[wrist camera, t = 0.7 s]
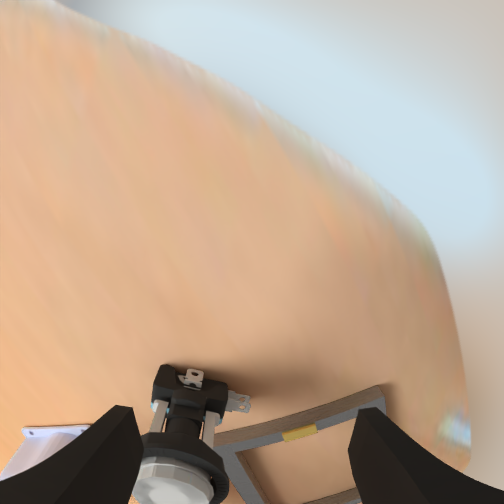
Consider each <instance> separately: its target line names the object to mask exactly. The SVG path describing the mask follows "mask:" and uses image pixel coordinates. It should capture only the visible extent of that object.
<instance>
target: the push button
mask: <svg viewBox="0 0 504 504" xmlns="http://www.w3.org/2000/svg"><path fill="white" fill-rule="evenodd" d="M191 373H197V374H198V376H193V375H192V374H191ZM203 374H204V373H203V372H202V371H199V370H195V369H191V368H190V369H188V370H187V373H186V374H183V373H179V372H175V368H174V367H172V366H169V365H164V364H163V365H161V366H160V368H159V370H158V373H157V375H156V378H155V380H154V383H153V391H152V400H151V408H152V409H153V412H154V413H155V415H154V418H153V421H152V424H151V427H150V430H149V433H146V434H144V435H142V436H141V440H142V443H143V446H144V452H143V457H142V462H141V466H140V471H139V474H138V477H137V480H136V483H135V486H134V488H133V491H132V494H133V496H134V497H135V499H136V500H137V501H138V502H139V503H140V504H219V503H221V502H222V501H223V500H224V499H225V498H226V497H227V495H228V492H229V478H228V475H227V473H226V472H225V467H224V463H223V459H222V457H221V456H219V455H218V454H217V453H216V452H215V451H214V450H213V440H214V428H215V427H216V426H218V425H219V424H221V422H222V419H223V416H224V412H225V411H229V412H232V410H233V411H239V412H245V413H248V412H249V410H250V407H251V404H249V400H250V396H247V395H242V394H236V393H235V391H230V390H228V386H227V384H226V383H223V382H219V381H214V380H209V379H205V378H203ZM241 397H243V398H245V400H244V401H240V400H239V399H240V398H241ZM241 405H244V406H245V409H240V408H239V407H240V406H241ZM165 418H167V420H166V427H165V432H162V429H163V425H164V422H165ZM202 422H204V424H203V432H202V440H201V439H199V436H200V432H201V427H202ZM211 477H212V478H211Z"/></svg>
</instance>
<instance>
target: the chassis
mask: <svg viewBox="0 0 504 504" xmlns="http://www.w3.org/2000/svg"><path fill="white" fill-rule="evenodd" d="M371 407H377V408H378V409H379V410H380V411H382V412H383V413H384V414H385V415H386V405H385V396H384V394H383V393H382V391H381V390H380V389H379V387H378V386H377V385H376V386H374V387H371V388H369V389H366V390H364V391H361V392H359V393H356V394H353V395H351V396H348V397H345V398H342V399H340V400H337V401H334V402H331V403H328V404H325V405H322V406H319V407H316V408H313V409H310V410H307V411H304V412H300V413H297V414H294V415H290V416H287V417H283V418H280V419H276V420H273V421H269V422H265V423H261V424H257V425H253V426H249V427H245V428H240V429H236V430H231V431H227V432H222V433H217V434H214V440H213V450H214V451H215V452H216V453H217V454H218V455H219V456H221V457H222V459H223V463H224V467H225V472H226V473H227V475H228V477H229V479H230V480H231V482H232V483H233V485H234V486H235V488H236V489H237V491H238V492H239V494H240V495H241V497H242V498H243V500H244V501H245V503H246V504H270V502H269V500H268V499H267V497H266V495H265V494H264V492H263V490H262V489H261V487H260V485H259V483H258V482H257V480H256V478H255V476H254V475H253V473H252V471H251V469H250V467H249V466H248V464H247V462H246V460H245V458H244V456H243V455H242V453H241V451H243V450H248V449H252V448H256V447H261V446H265V445H269V444H273V443H277V442H281V441H285V442H288V441H291V440H295V439H298V438H302V437H305V436H308V435H312V434H315V433H318V432H317V431H318V430H321V429H324V428H327V427H330V426H333V425H336V424H339V423H342V422H345V421H347V420H350V419H353V418H355V417H357V414H358V410H359V409H363V408H371ZM386 416H387V415H386ZM360 502H362V501H361V498H360V495H359V492H358V489H357V487H356V488H353V489H351V490H348V491H345V492H342V493H339V494H335V495H332V496H329V497H326V498H322V499H319V500H315V501H312V502H308V503H304V504H357V503H360Z"/></svg>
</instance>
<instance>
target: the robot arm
mask: <svg viewBox="0 0 504 504" xmlns="http://www.w3.org/2000/svg"><path fill="white" fill-rule="evenodd" d="M22 433H23V434H24V436H25V437H26V438H25V440H24V441H23V442H22V444H21V445H20V447H19V448H18V449H17V451H16V452H15V453H14V455H13V456H12V458H11V459H10V460H9V462H8V463H7V465H6V466H5V468H4V469H3V470H2V472H1V475H0V504H128V502H129V499H130V496H131V494H132V491H133V488H134V486H135V483H136V480H137V477H138V474H139V471H140V466H141V462H142V457H143V452H144V446H143V443H142V440H141V436H140V433H139V429H138V426H137V422H136V419H135V415H134V411H133V408H132V407H126V406H119V405H115V406H114V407H113V408H111V409H110V410H109V411H108V412H107V413H105V414H104V415H103V416H102V417H101V418H100V419H98V420H97V421H96V422H95V423H94V424H92V425H91V426H90V425H73V426H55V427H23V428H22ZM348 454H349V459H350V465H351V469H352V474H353V477H354V480H355V483H356V486H357V489H358V492H359V495H360V498H361V501H362V503H363V504H504V491H502V490H500V489H497V488H494V487H491V486H488V485H486V484H484V483H481V482H479V481H476V480H474V479H472V478H470V477H468V476H466V475H464V474H463V473H461V472H459V471H457V470H455V469H454V468H452V467H450V466H449V465H447V464H445V463H444V462H442V461H441V460H439V459H438V458H437V457H435V456H434V455H432V454H431V453H430V452H428V451H427V450H426V449H424V448H423V447H422V446H420V445H419V444H418V443H417V442H415V441H414V440H413V439H412V438H411V437H409V436H408V435H407V434H406V433H405V432H404V431H403V430H401V429H400V428H399V427H398V426H397V425H396V424H395V423H394V422H392V421H391V420H390V419H389V418H388V417H387V416H386V415H385V414H384V413H383V412H382V411H380V410H379V409H378V408H377V407H371V408H363V409H359V410H358V414H357V418H356V422H355V426H354V430H353V433H352V437H351V441H350V444H349V448H348Z"/></svg>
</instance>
